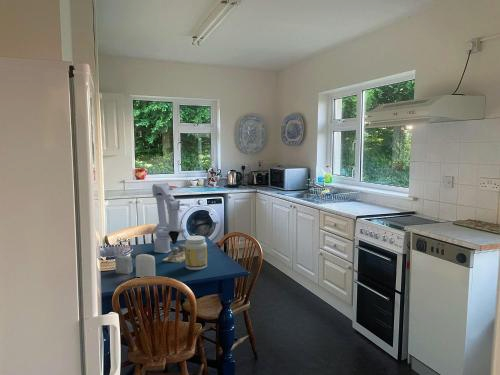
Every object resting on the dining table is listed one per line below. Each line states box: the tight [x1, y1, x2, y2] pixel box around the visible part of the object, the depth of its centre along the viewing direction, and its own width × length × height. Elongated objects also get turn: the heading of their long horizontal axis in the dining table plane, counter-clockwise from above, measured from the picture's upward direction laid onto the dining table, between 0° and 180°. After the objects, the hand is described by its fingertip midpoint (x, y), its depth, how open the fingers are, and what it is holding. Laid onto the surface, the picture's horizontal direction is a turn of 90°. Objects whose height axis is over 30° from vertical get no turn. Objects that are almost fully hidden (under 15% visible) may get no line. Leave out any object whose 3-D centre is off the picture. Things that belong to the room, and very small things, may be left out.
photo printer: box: [135, 253, 156, 278], centre depth 197 cm, size 10×4×12 cm, turn 77°
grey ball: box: [177, 243, 185, 252], centre depth 233 cm, size 4×4×4 cm
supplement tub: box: [184, 235, 208, 271], centre depth 212 cm, size 12×12×17 cm
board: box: [162, 248, 185, 264], centre depth 233 cm, size 12×22×4 cm, turn 157°
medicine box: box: [114, 255, 134, 275], centre depth 205 cm, size 8×4×9 cm, turn 71°
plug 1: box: [170, 246, 179, 255], centre depth 226 cm, size 4×4×4 cm
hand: (174, 243), depth 226 cm, fingers closed
